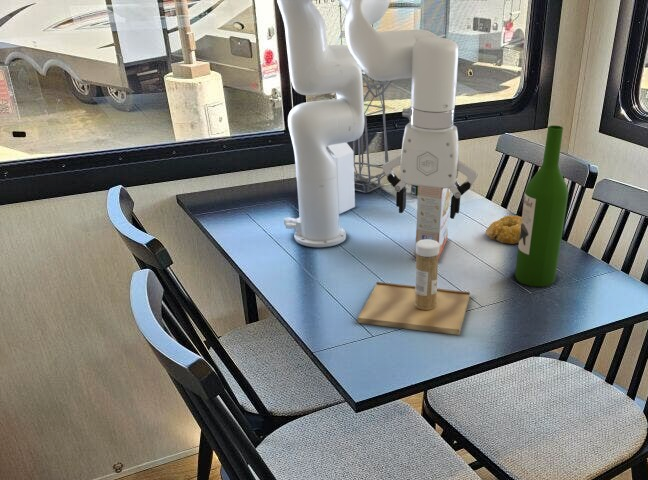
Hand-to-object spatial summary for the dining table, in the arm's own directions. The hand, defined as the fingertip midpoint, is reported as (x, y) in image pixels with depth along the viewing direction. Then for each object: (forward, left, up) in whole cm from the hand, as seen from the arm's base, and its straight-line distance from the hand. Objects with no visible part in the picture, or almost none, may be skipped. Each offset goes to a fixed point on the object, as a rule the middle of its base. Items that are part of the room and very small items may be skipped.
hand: (427, 213), depth 128 cm
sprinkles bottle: (0, -1, -19) cm, 19 cm away
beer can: (-14, +67, -21) cm, 72 cm away
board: (-2, -1, -20) cm, 20 cm away
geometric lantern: (-32, +70, -21) cm, 80 cm away
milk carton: (-34, +51, -21) cm, 65 cm away
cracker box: (-4, +30, -21) cm, 37 cm away
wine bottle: (+21, +20, -20) cm, 36 cm away
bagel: (+13, +42, -21) cm, 49 cm away
